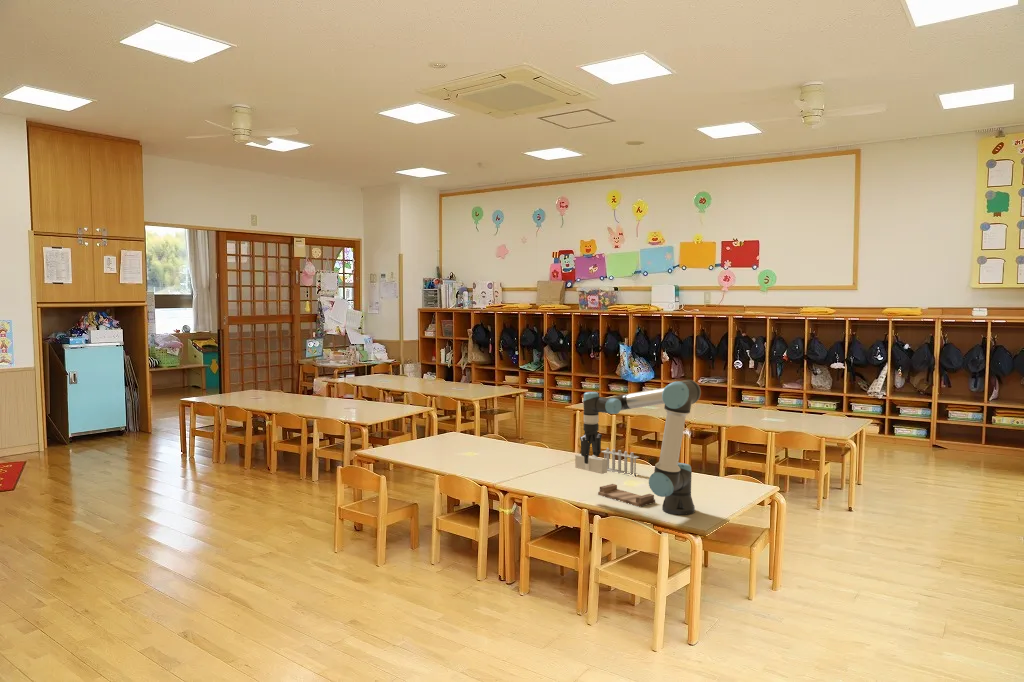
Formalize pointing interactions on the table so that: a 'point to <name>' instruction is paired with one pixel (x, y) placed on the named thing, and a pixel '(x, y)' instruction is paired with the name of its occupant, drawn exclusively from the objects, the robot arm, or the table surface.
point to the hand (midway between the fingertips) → (590, 468)
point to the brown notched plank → (625, 495)
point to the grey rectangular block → (592, 464)
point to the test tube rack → (632, 458)
